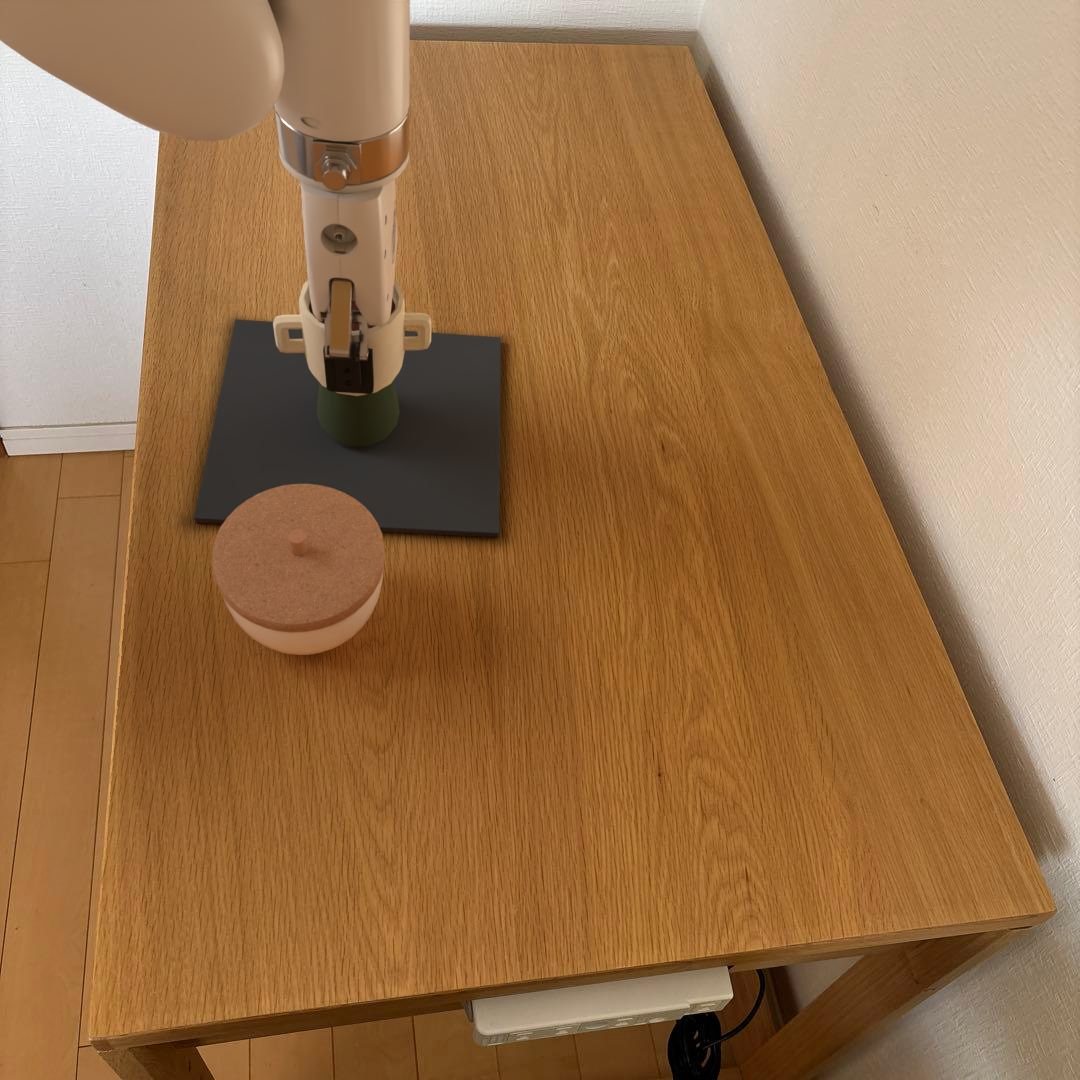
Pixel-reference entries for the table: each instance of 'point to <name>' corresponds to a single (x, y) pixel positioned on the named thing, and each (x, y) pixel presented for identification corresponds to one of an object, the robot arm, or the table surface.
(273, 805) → the table surface
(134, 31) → the robot arm
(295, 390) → the mat
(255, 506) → the trinket box
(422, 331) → the character mug
